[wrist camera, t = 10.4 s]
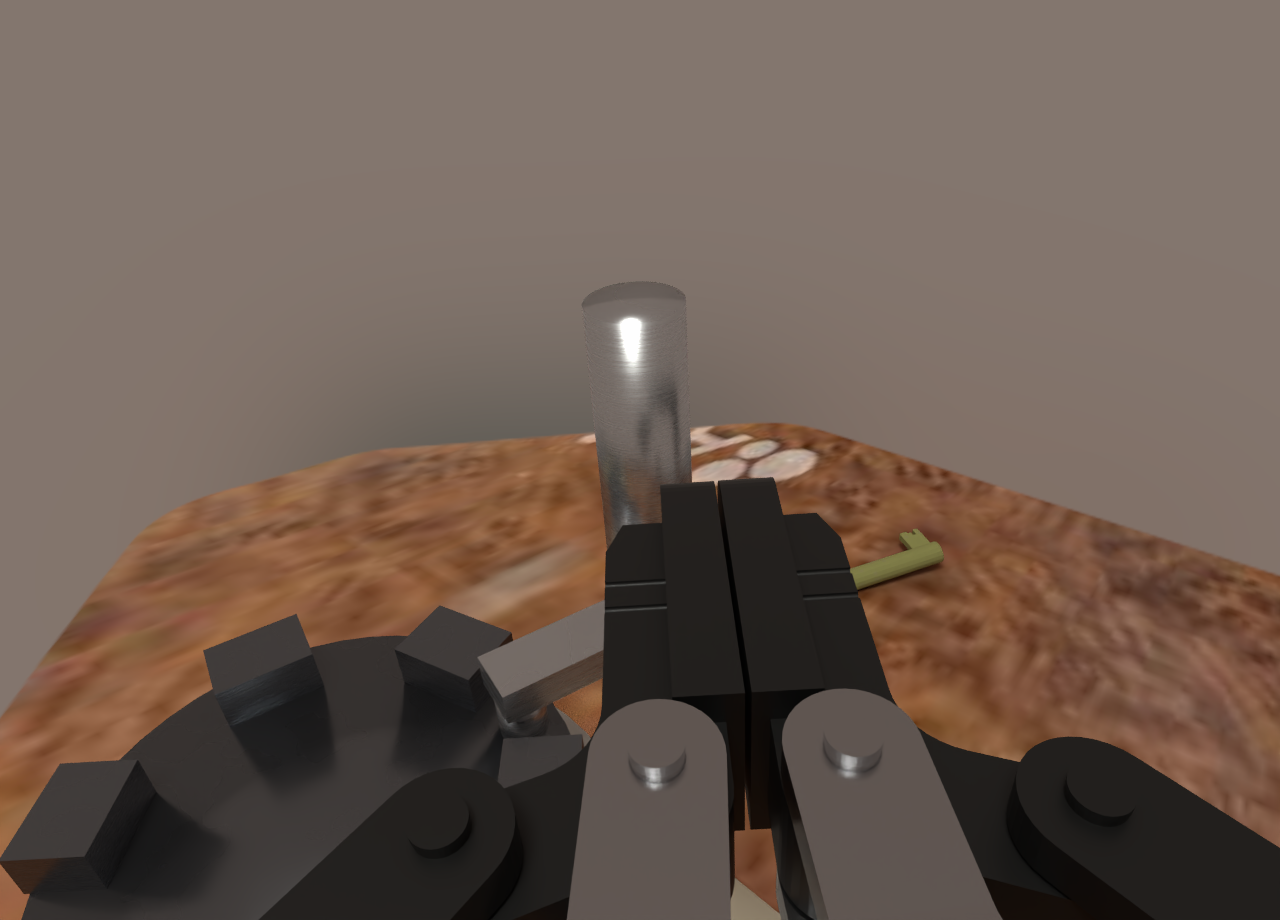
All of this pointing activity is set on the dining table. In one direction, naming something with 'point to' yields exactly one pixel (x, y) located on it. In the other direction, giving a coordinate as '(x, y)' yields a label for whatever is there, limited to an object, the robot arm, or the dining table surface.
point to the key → (899, 561)
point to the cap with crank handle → (354, 700)
